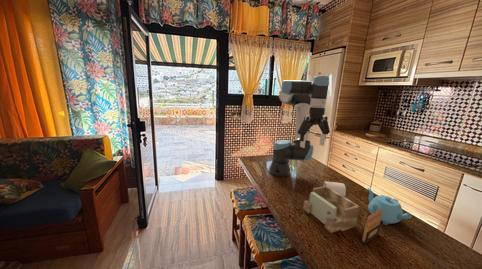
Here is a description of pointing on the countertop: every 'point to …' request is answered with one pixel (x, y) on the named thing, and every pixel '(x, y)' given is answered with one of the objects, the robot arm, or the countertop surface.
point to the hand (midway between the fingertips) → (312, 146)
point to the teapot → (387, 208)
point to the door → (321, 208)
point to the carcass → (344, 213)
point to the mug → (336, 187)
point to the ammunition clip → (372, 226)
